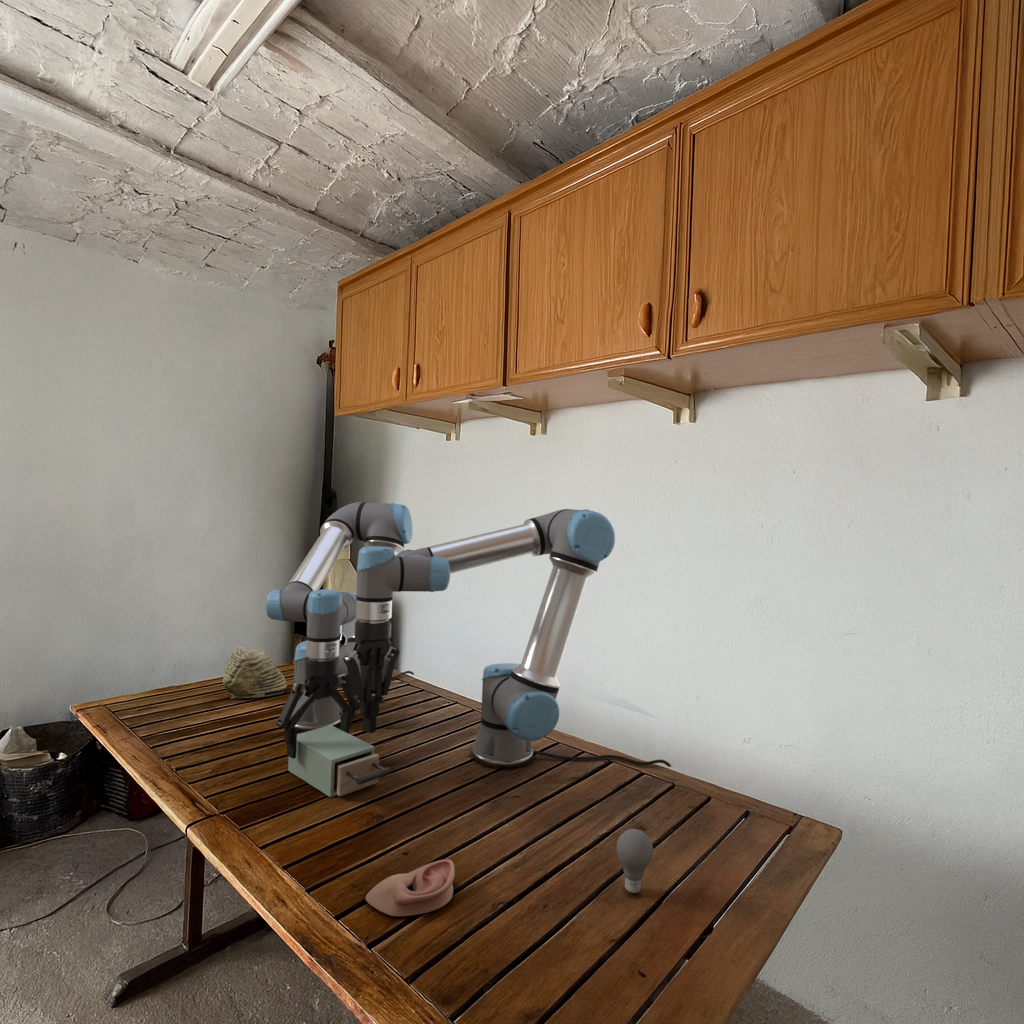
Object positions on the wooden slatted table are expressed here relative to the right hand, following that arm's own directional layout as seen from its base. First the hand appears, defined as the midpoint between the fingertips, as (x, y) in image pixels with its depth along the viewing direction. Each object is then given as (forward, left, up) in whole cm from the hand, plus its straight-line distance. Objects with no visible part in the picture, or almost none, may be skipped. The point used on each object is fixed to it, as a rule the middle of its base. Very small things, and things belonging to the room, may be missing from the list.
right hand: (369, 730), depth 134 cm
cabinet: (+6, -13, -14) cm, 20 cm away
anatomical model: (-2, +35, -14) cm, 38 cm away
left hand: (+9, -17, -10) cm, 21 cm away
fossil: (+23, -78, -14) cm, 82 cm away
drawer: (+4, -7, -13) cm, 16 cm away
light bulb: (-37, +45, -14) cm, 60 cm away
